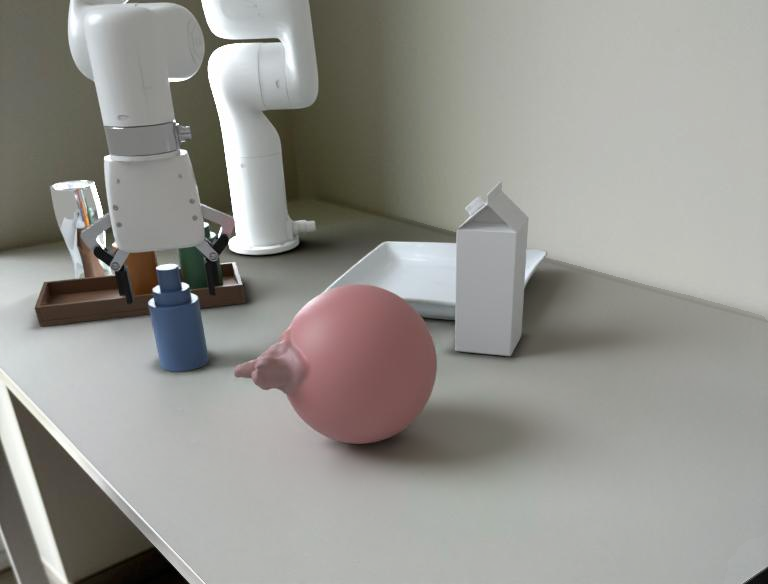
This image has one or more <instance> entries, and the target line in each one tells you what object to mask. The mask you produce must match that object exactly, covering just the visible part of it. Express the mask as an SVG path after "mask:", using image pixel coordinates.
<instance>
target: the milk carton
mask: <svg viewBox="0 0 768 584" xmlns="http://www.w3.org/2000/svg"><path fill="white" fill-rule="evenodd" d="M502 187H503V181H502V180H500V181H499V182H497V183H496V184H495V185H494V186H493V187H492V188H491V189H490V190H489V191H488V192H487V193H486V202H485V201H484V200H483V198H482V197H481V195H478V196H477V197H476V198H474V199H473V200H471V202H470V203H469V204H468V205H466V207H465V208H464V209H465V210H466V212H467V213H468V215H469V217H468V218H467V219H465V221H464V222H463V223H462V224H460V225H459V227H458V228H457V229H456V240H455V241H456V242H455V243H456V307H455V320H454V350H455V352H463V353H472V354H473V353H474V354H481V355H493V356H503V357H504V356H505V357H512V355H513V353H514V351H515V349H516V347H517V345H518V343H519V342H520V340H521V338H522V332H523V330H522V329H523V313H524V299H525V298H524V297H525V288H524V283H525V267H526V251H527V249H528V232H529V216H528V215H527V214H526V213H525V212H524V211H523V210H521V208H520V207H519V206H518V205H517V204H516V203H515V202H514V201H512V199H510V197H508V195H506V193H504V192H503V191H502V189H503V188H502Z"/></svg>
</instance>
